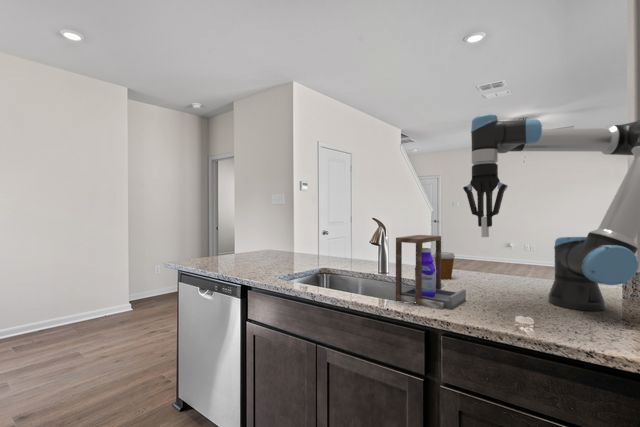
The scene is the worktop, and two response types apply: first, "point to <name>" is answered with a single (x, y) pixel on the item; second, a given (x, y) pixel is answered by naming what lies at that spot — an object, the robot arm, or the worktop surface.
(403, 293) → the tray
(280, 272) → the worktop surface
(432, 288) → the bottle
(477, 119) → the robot arm
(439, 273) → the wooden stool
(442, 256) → the disposable coffee cup
